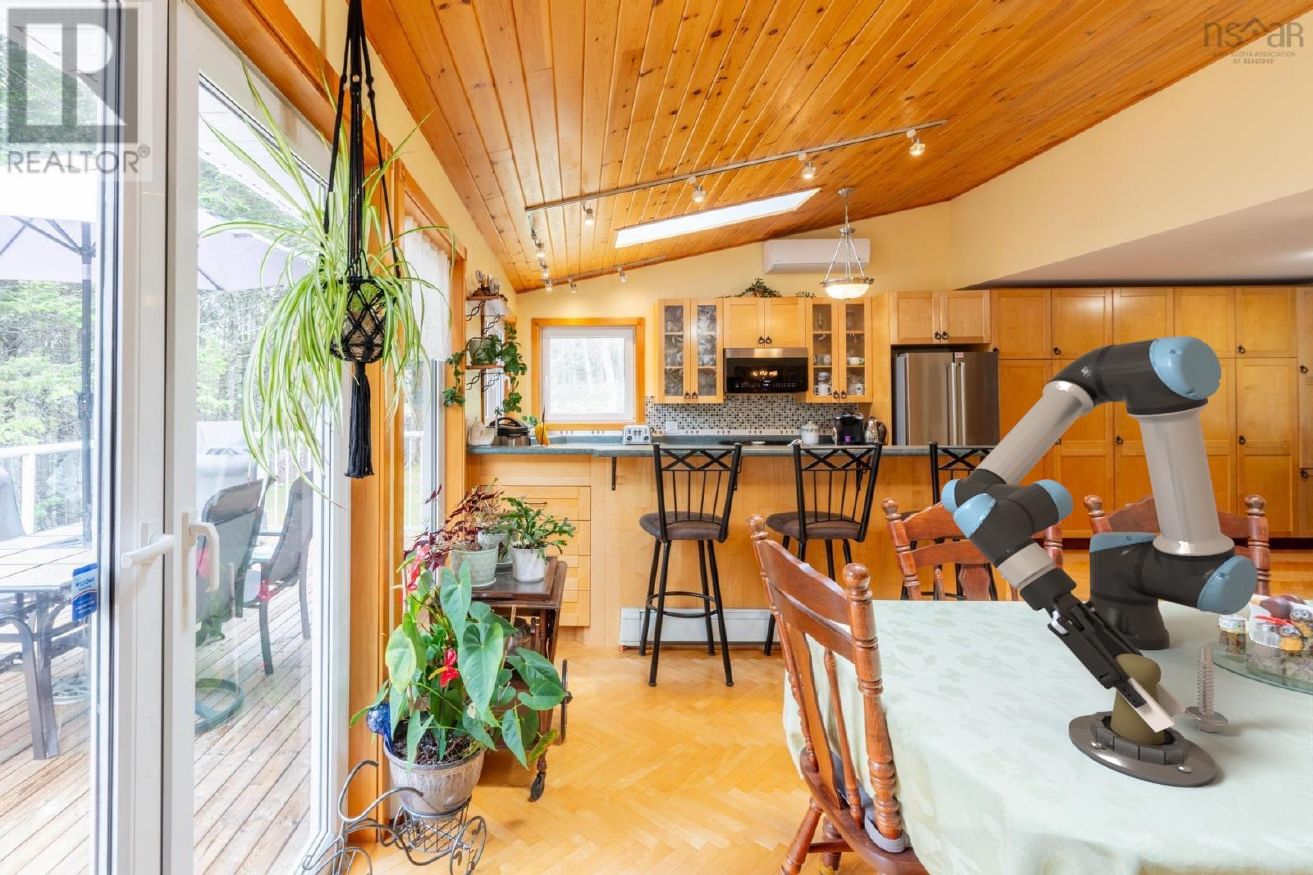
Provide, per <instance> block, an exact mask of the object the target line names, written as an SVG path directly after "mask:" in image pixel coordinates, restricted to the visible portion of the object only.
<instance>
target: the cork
mask: <svg viewBox="0 0 1313 875" xmlns="http://www.w3.org/2000/svg"><path fill="white" fill-rule="evenodd" d="M1115 661H1116V662H1117V664H1118V665H1119V666H1120V667H1121V669H1122V670H1123V671H1124V673H1125V674H1126V675H1127V676H1128V678H1129V679H1130V678H1132V677H1133V678H1134V679H1135V680H1136V681H1137V682H1138V683H1139V684H1140V685H1141V686H1142V688H1143V689H1144V690H1145V691H1146V692H1147V693H1148V694H1149V695H1150V696H1151V697H1152V698H1153V699H1154V700H1155V701H1156V702H1157V703H1158V704H1159V701H1158V694H1157V688H1156V684H1157V683H1158V682H1161V679H1162V670H1161V667H1160V665H1159V664H1158V663H1157V662H1156V661H1155V660H1153V659H1152V658H1149V657H1147V656H1145V655H1143V656H1140V655H1135V654H1121V655H1118V656H1117V657H1116V658H1115ZM1115 690H1116V689H1115ZM1112 711H1113V713H1112V718H1111V724H1110V727H1111V729H1112V730H1113V731H1114V732H1116V733H1117V734H1119V735H1121V736H1123V737H1125V738H1128V739H1130V740H1133V741H1137V742H1140V743H1146V744H1162V743H1163V742H1165V738H1164V732H1163V730H1161V731H1158V732H1155V731H1154V730H1153V729H1152V728H1151V727H1150V726H1149V725H1148V724H1147V722H1146V721H1145V720H1144V719H1143V718H1142V717H1141V716H1140V715H1139V714H1138V713H1137V712H1136V710H1135V709H1134V708H1133V707H1132V706H1131V705H1130V704H1129V703H1128V702H1127V701H1126V700H1125V698H1124V697H1123V696H1122V695H1121V694H1120V693H1119V692H1118V691H1117V690H1116V691H1115V696H1114V702H1113V707H1112Z"/></svg>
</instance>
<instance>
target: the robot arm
mask: <svg viewBox="0 0 1313 875" xmlns="http://www.w3.org/2000/svg"><path fill="white" fill-rule="evenodd" d="M1221 379H1222V367H1221V363H1220V360H1219V358H1218V356H1217V354H1216V352H1215V351H1214V349H1213V348H1212V347H1211V345H1210V344H1208V343H1206V342H1204V341H1203V340H1202V339H1200V338H1198V337H1194V336H1191V335H1189V336H1187V335H1183V336H1182V335H1181V336H1164V337H1158V338H1157V337H1156V338H1152V339H1146V340H1145V339H1144V340H1139V341H1132V342H1131V341H1130V342H1123V343H1120V344H1119V343H1118V344H1110V345H1103V346H1101V347H1098V348H1094V349H1092V350H1089V351H1088V352H1086V353H1084V354H1082V355H1081V356H1079V357H1077V358H1076V359H1075V360H1073V361H1072V362H1069V363H1068V364H1067V365H1066V366H1065V367H1063V368H1062V369H1061V370H1060V371H1058V372H1057V374H1055V375H1054V376H1053V377H1052V378H1051V379H1050V380H1049V381H1048V383H1047V384H1045V386H1044V387H1043V389H1042V397H1041V398H1039V400H1038V401H1036V402H1035V404H1034V405H1033V406H1032V407H1031V408H1030V409H1029V410H1028V411H1027V413H1026V414H1024V416H1022V418H1021V419H1020V420H1019V421H1018V422H1017V424H1016V425H1015V426H1014V427H1013V428H1012V429H1010V431H1009V432H1008V433H1007V434H1006V435H1005V436H1004V437H1003V439H1001V440H1000V441H999V443H998V444H997V445H996V446H995V447H994V448H993V449H992V450H991V451H990V453H988V454H987V456H986V457H985V458H983V459H982V461H981V462H980V463H979V464H978V465H977V467H976V468H974V470H973V471H972V472H971V473H970V474H969V475H968V476H967V477H966V478H956V479H955V478H954V479H952V480H949V481H947V482H946V484H945V485H944V486H943V488H942V491H941V497H940V498H941V503H942V506H943V507H944V509H945V510H946V511H947V512H948V513H949V514H952V516H953V517H952V518H953V521H954V523H955V524H956V526H957V527H958V529H959V530H960V531H961V532H962V533H963V535H964V536H965V538H966V539H967V540H969V541H970V543H971V544H973V546H974V547H975V548H976V549H977V550H979V552H980V553H981V554H982V556H983V557H985V559H986V560H987V561H988V562H989V563H990V564H991V565H992V566H993V567H994V568H995V569H996V570H997V571H998V573H999V574H1001V576H1000V577H1001V579H1002V580H1004V581H1005V580H1006V582H1008V584H1010V585H1011V587H1012V588H1013V589H1019V592H1018V593H1019V596H1020V597H1021V598H1022V599H1023V601H1024V602H1025V603H1026V604H1027V605H1028V607H1030V609H1032V611H1036V612H1039V611H1041V610H1043V609H1045V611H1046V613H1047V614H1048V615H1049V618H1050V619H1051V620H1052V621H1051V622H1049V623H1048V624H1047V625H1046V626H1047V628H1048V630H1049V631H1050V632H1052V633H1053V634H1054V635H1055V636H1056V637H1058V638H1059V640H1060V641H1061V642H1062V643H1063V644H1064V645H1065V646H1066V647H1067V648H1068V649H1069V651H1070V652H1071V653H1072V654H1073V655H1074V656H1075V658H1077V660H1079V662H1080V663H1081V664H1082V665H1083V666H1084V667H1085V668H1086V669H1087V670H1088V672H1089V673H1090V674H1091V675H1092V677H1093V678H1095V680H1096V681H1097V682H1098V683H1099V684H1100V685H1101V686H1102V687H1103V688H1104V689H1106V690H1110V689H1113V688H1114V689H1115V690H1117V691H1118V692H1119V693H1120V694H1121V695H1122V696H1123V697H1124V698H1125V700H1126V701H1127V702H1128V703H1129V704H1130V705H1131V706H1132V707H1133V708H1134V709H1135V710H1136V712H1137V713H1138V714H1139V715H1140V716H1141V717H1142V718H1143V719H1144V720H1145V721H1146V722H1147V724H1148V725H1149V726H1150V727H1151V728H1152V729H1153V730H1154V731H1155V732H1158V731H1161V730H1163V729H1165V728H1168V727H1172V726H1175V725H1176V723H1177V722H1176V721H1175V720H1174V719H1173V717H1176V716H1177V715H1180V714H1182V713H1184V711H1186V710H1187V709H1186V708H1187V707H1185V706H1184V705H1183V704H1182V703H1181V702H1180V701H1179V700H1178V699H1177V698H1176V696H1174V695H1173V694H1172V692H1170V690H1169V689H1168V688H1167V687H1165V685H1164V684H1163V683H1162V682H1161V681H1160V682H1158V683H1157V684H1156V688H1157V694H1158V701H1159V704H1158V703H1157V702H1156V701H1155V700H1154V699H1153V698H1152V697H1151V696H1150V695H1149V694H1148V693H1147V692H1146V691H1145V690H1144V689H1143V688H1142V686H1141V685H1140V684H1139V683H1138V682H1137V681H1136V680H1135V679H1134V678H1133V677H1132V678H1130V679H1129V678H1128V676H1127V675H1126V674H1125V673H1124V671H1123V670H1122V669H1121V667H1120V666H1119V665H1118V664H1117V662H1116V661H1115V658H1116V657H1117V656H1118V655H1121V654H1135V655H1140V656H1144V655H1143V653H1142V652H1141V651H1140V650H1162V649H1166V648H1168V647H1169V646H1170V633H1169V631H1168V629H1167V628H1166V626H1165V622H1164V619H1163V616H1162V613H1161V610H1160V607H1159V600H1162V601H1165V602H1168V603H1172V604H1177V605H1180V606H1184V607H1189V608H1192V609H1196V610H1199V611H1200V612H1203V613H1204V612H1205V613H1206V612H1207V613H1208V612H1209V613H1212V614H1218V615H1222V616H1230V615H1234V614H1237V613H1239V612H1240V611H1241V610H1243V609H1244V608H1245V607H1246V606H1247V605H1248V604H1249V603H1250V601H1251V599H1252V598H1253V596H1254V593H1255V592H1256V588H1257V583H1258V575H1259V574H1258V570H1257V569H1258V568H1257V566H1256V564H1255V562H1254V561H1253V560H1252V559H1250V558H1248V557H1246V556H1244V555H1242V554H1241V555H1240V554H1239V555H1237V552H1236V546H1235V542H1234V541H1233V539H1232V538H1230V537H1229V536H1226V534H1223V533H1222V531H1221V525H1220V521H1219V520H1220V519H1219V517H1218V510H1217V504H1216V499H1215V494H1214V488H1213V482H1212V478H1211V472H1210V466H1209V461H1208V455H1207V450H1206V444H1205V439H1204V435H1203V434H1204V433H1203V429H1202V423H1201V417H1200V414H1201V412H1202V411H1203V410H1204V409H1205V408H1206V407H1207V406H1208V405H1209V400H1208V399H1209V398H1210V397H1211V396H1213V395H1214V394H1216V392H1217V391H1218V390H1219V387H1220V386H1221V383H1220V380H1221ZM1123 402H1124V404H1125V408H1126V410H1125V411H1126V412H1127V415H1128V416H1129V417H1131V418H1133V419H1136V420H1137V421H1138V423H1139V428H1140V433H1141V438H1142V444H1143V449H1144V454H1145V458H1146V464H1147V468H1148V469H1147V470H1148V475H1149V478H1150V479H1149V480H1150V485H1151V489H1152V496H1153V499H1154V500H1153V501H1154V506H1155V510H1156V515H1157V516H1156V517H1157V522H1158V525H1159V531H1160V534H1159V535H1158V534H1157V533H1154V532H1144V531H1142V532H1141V531H1111V532H1109V531H1107V532H1105V531H1104V532H1098V533H1095V534H1093V535H1092V536H1091V537H1090V544H1089V550H1088V554H1089V598H1088V601H1086V602H1085V603H1084V602H1082V601H1081V600H1080V599H1079V598H1078V597H1076V596H1075V595H1074V594H1073V593H1072V591H1073V590H1075V589H1076V587H1077V585H1078V584H1077V582H1076V581H1075V580H1074V579H1073V578H1072V577H1071V576H1070V575H1069V574H1068V573H1066V571H1065V570H1064V569H1063V568H1062V567H1058V566H1057V567H1055V564H1056V561H1055V559H1053V557H1052V556H1050V554H1049V553H1048V552H1047V551H1045V549H1043V548H1042V546H1041V545H1039V544H1038V542H1036V541H1035V540H1034V538H1032V536H1035V535H1036V534H1039V533H1040V532H1043V531H1044V530H1047V529H1049V528H1050V527H1052V526H1055V525H1058V524H1059V523H1060V522H1061V521H1063V520H1064V519H1066V518H1067V517H1069V516H1070V515H1071V514H1072V512H1073V511H1074V509H1073V508H1074V501H1073V498H1072V494H1070V493H1071V492H1070V491H1069V490H1068V489H1067V488H1066V487H1065V486H1064V485H1062V484H1061V483H1060V482H1058V481H1056V480H1052V479H1041V480H1038V481H1034V482H1032V483H1030V484H1029V485H1026V486H1025V485H1018V484H1020V482H1021V481H1022V480H1023V479H1024V477H1026V475H1028V474H1029V472H1030V471H1031V470H1032V469H1033V468H1034V466H1035V465H1036V464H1037V463H1038V462H1039V461H1040V460H1041V459H1042V458H1043V456H1045V455H1046V453H1047V452H1048V451H1049V450H1050V449H1051V448H1052V446H1054V445H1055V443H1056V442H1057V441H1059V439H1060V438H1061V437H1063V435H1064V434H1065V433H1066V432H1067V430H1069V428H1070V427H1071V426H1072V425H1073V424H1074V423H1075V422H1076V420H1077V419H1079V418H1080V417H1085V416H1087V415H1089V414H1091V412H1092V411H1093V410H1094V409H1095V408H1096V407H1098V406H1100V405H1103V404H1108V403H1123ZM1139 649H1140V650H1139Z"/></svg>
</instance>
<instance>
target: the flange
mask: <svg viewBox="0 0 1313 875" xmlns="http://www.w3.org/2000/svg"><path fill="white" fill-rule="evenodd" d="M1112 713H1113V710H1109V711H1108V710H1107V711H1096V712H1095V713H1092V714H1086V715H1081V716H1077V717H1075V718H1073V719H1072V720H1070V722H1069V723H1068V737H1070V738H1069V740H1070V739H1071V740H1070V741H1072V742H1071V743H1072V745H1073V746H1074V747H1075V746H1076V747H1077V748H1076V747H1075V748H1076V749H1078V750H1079V751H1080V752H1081V751H1082V752H1083V753H1082V752H1081V753H1082V754H1084V753H1085V754H1086V755H1088V756H1089V757H1088V756H1087V757H1088V758H1090V759H1091V760H1093V761H1094V762H1096V761H1097V762H1096V763H1099V764H1100V765H1102V766H1104V767H1106V768H1109V769H1111V770H1113V771H1116V772H1118V773H1120V774H1123V775H1126V776H1128V777H1131V778H1133V779H1134V778H1135V779H1137V780H1142V781H1146V782H1149V783H1154V784H1158V785H1163V786H1170V787H1178V788H1198V787H1203V786H1206V785H1209V784H1211V783H1212V782H1213V781H1214V780H1215V779H1216V762H1215V761H1214V759H1213V757H1212V756H1211V755H1210V754H1209V753H1208V752H1207V751H1206V750H1204V749H1203V748H1202V747H1200V746H1199V745H1197V744H1196V743H1194V742H1192V741H1191V740H1189V739H1187V738H1185V736H1184V735H1183V734H1182V733H1181V732H1179V731H1178V730H1176V729H1175V728H1173V727H1172V726H1170V727H1168V728H1165V729H1163V732H1164V738H1165V742H1163V743H1162V744H1146V743H1140V742H1137V741H1133V740H1130V739H1128V738H1125V737H1123V736H1121V735H1119V734H1117V733H1116V732H1114V731H1113V730H1112V729H1111V727H1110V724H1111V718H1112ZM1085 754H1084V755H1085ZM1086 755H1085V756H1086Z"/></svg>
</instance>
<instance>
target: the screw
mask: <svg viewBox="0 0 1313 875" xmlns="http://www.w3.org/2000/svg"><path fill="white" fill-rule="evenodd" d="M1212 652H1213V650H1212V648H1210V647H1209V646H1208V645H1203V646H1201V647H1200V649H1199V660H1198V661H1197V662H1198V663H1199V664H1197V667H1198V668H1197V670H1198V672H1197V674H1198V675H1197V678H1198V679H1197V682H1198V683H1197V685H1198V687H1197V689H1198V690H1197V693H1198V694H1197V697H1198V698H1197V700H1198V702H1197V704H1198V705H1197V706H1188V707H1185V708H1186V709H1187V710H1186V711H1184V712H1183V713H1184V714H1185V715H1186V716H1187V717H1188V718H1190V719H1192V720H1193V723H1195V724H1194V727H1195V729H1197V728H1199V729H1198V730H1200V729H1202V730H1204V731H1203V732H1205V731H1206V732H1205V733H1209V732H1217V733H1218V727H1219V726H1220V727H1221V726H1222V727H1223V726H1227V725H1228V724H1229V720H1228V718H1226V717H1225V716H1224V715H1223V714H1222V713H1220V712H1218V711H1216V710H1215V707H1214V706H1215V704H1214V702H1215V700H1214V699H1215V696H1214V695H1215V692H1214V691H1215V688H1214V687H1215V673H1214V672H1215V669H1214V668H1215V666H1214V661H1213V658H1212V657H1213V653H1212ZM1202 730H1201V731H1202Z"/></svg>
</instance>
